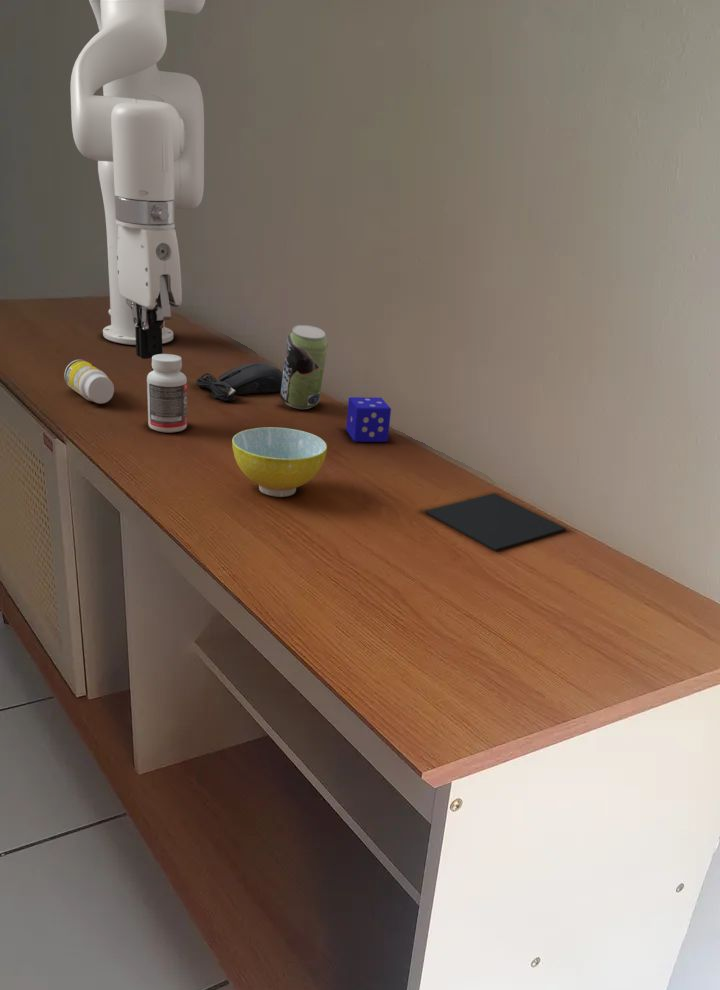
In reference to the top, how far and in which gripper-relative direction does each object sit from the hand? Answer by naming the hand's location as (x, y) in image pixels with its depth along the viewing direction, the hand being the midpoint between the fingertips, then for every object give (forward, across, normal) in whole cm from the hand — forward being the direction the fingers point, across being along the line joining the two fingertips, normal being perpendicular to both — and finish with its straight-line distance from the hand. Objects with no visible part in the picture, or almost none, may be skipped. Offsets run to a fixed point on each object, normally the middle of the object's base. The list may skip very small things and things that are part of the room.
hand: (149, 356), depth 130 cm
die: (+9, -20, -24) cm, 32 cm away
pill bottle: (+9, -5, 0) cm, 10 cm away
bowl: (+9, -31, -1) cm, 32 cm away
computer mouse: (+9, +6, -20) cm, 23 cm away
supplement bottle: (+6, +16, +4) cm, 17 cm away
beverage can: (+9, -4, -23) cm, 25 cm away
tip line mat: (+9, -51, -19) cm, 55 cm away
